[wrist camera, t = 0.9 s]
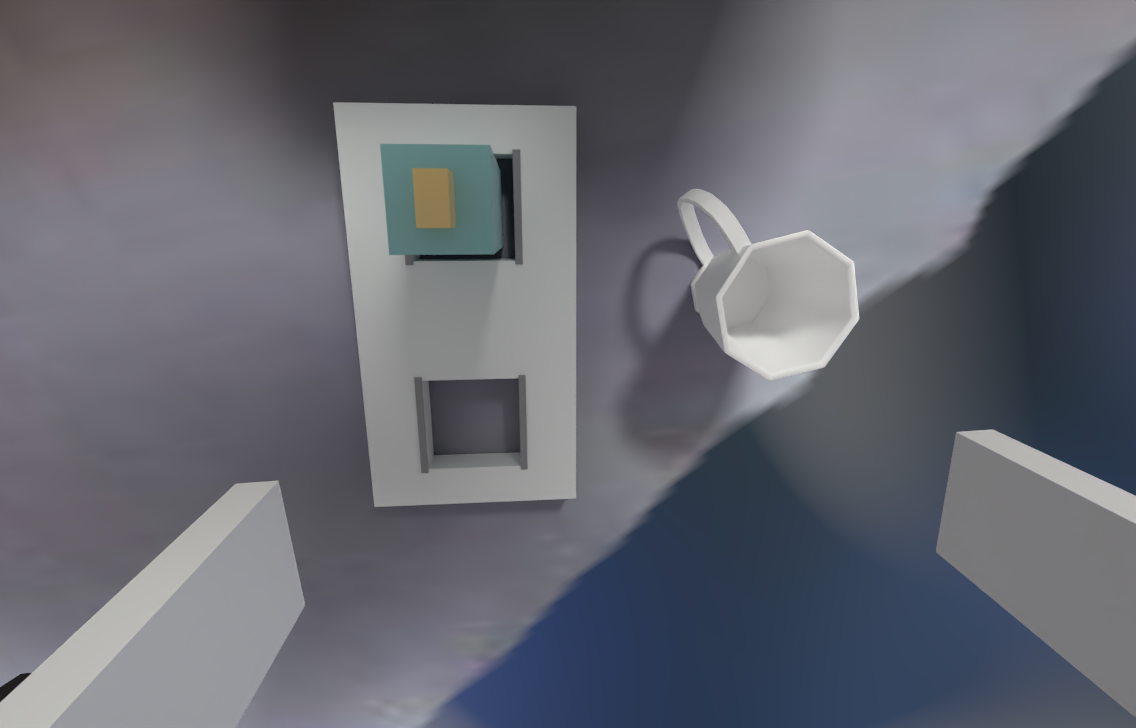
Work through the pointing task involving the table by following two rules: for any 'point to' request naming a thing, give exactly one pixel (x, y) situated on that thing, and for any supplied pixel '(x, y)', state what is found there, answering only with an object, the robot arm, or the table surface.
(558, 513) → the table surface
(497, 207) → the plug
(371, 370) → the panel
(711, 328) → the cup
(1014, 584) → the robot arm
